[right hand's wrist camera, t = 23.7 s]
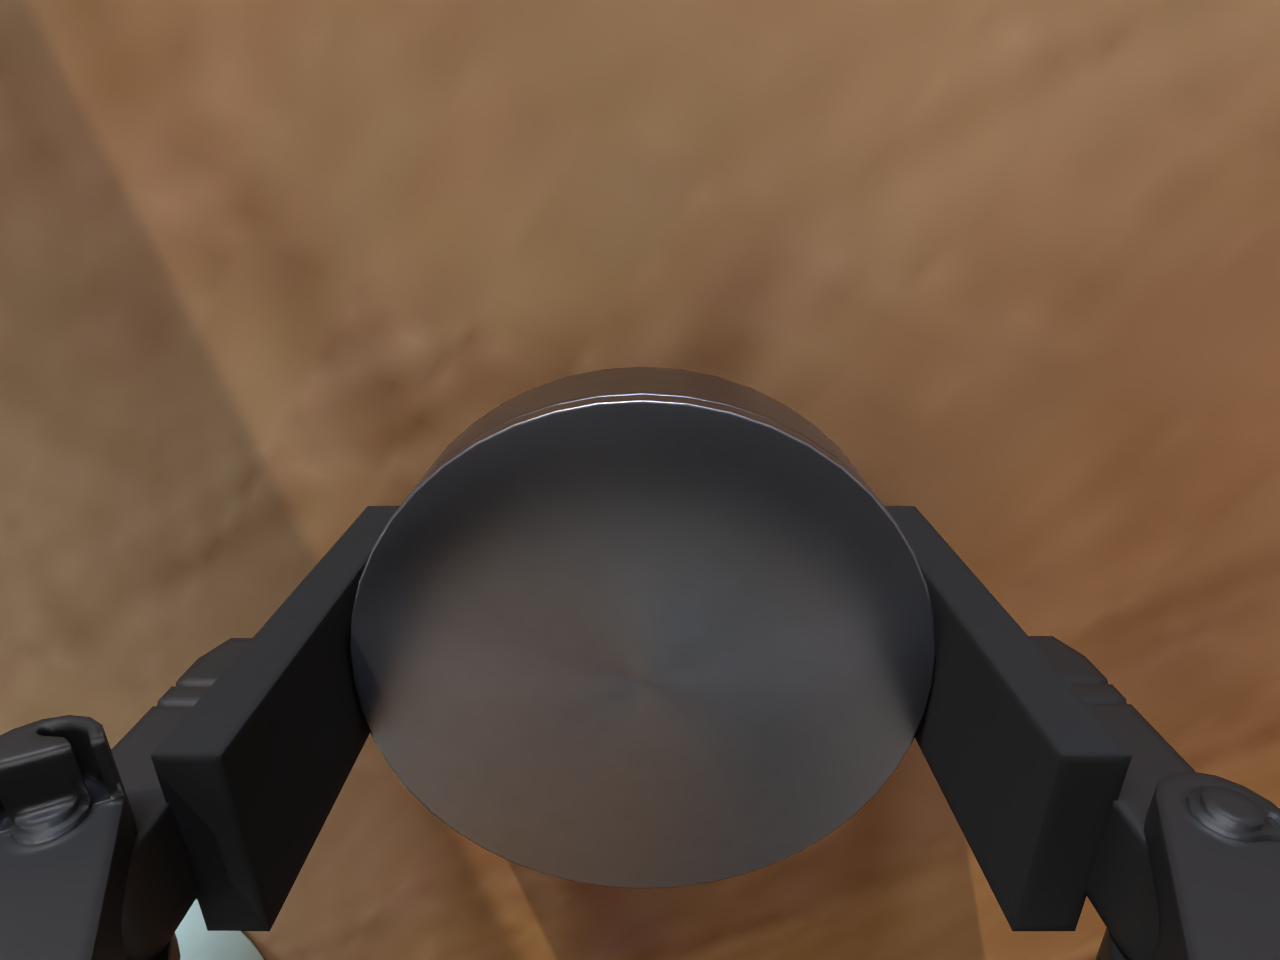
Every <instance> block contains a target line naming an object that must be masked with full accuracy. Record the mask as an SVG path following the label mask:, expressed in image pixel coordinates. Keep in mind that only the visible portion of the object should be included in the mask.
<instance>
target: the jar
mask: <svg viewBox="0 0 1280 960" xmlns="http://www.w3.org/2000/svg"><path fill="white" fill-rule="evenodd" d="M175 934H176V937H177V940H178V945H179V950H180V955H181V957H180V960H264V959H263V957H262V955H261V954H260V952H259V951H258V950H257V948H256V947H255V946H254V944H253V943H252V942H251V941H250V940H249V939H248V938H247V937H246V936H245V934H244V933H243V932H242V931H208V930H207V927H206V924H205V921H204V918H203V915H202V912H201V909H200V906H199V903H198V900H197V899H195V901H194V903H193V904H192V906H191V907H190V909H189V910H188V912H187V914H186V915H185V917H184V918H183V920H182V922H181V923H180V925H179V926H178V928H177V929H176V931H175Z"/></svg>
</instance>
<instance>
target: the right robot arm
mask: <svg viewBox="0 0 1280 960" xmlns="http://www.w3.org/2000/svg"><path fill="white" fill-rule="evenodd" d="M399 507H400V506H368V507H367V508H366V509H365V510H364V511H363V513H362V514H361V515H360V516H359V517H358V518H357V519H356V521H355V522H354V523H353V524H352V525H351V526H350V527H349V529H348V530H347V531H346V532H345V533H344V534H343V535H342V537H341V538H340V539H339V540H338V541H337V542H336V543H335V545H334V546H333V547H332V548H331V549H330V550H329V551H328V553H327V554H326V555H325V556H324V557H323V558H322V560H321V561H320V562H319V563H318V564H317V565H316V566H315V568H314V569H313V570H312V571H311V572H310V573H309V574H308V576H307V577H306V578H305V579H304V580H303V581H302V582H301V584H300V585H299V586H298V587H297V588H296V589H295V590H294V592H293V593H292V594H291V595H290V596H289V597H288V598H287V600H286V601H285V602H284V603H283V604H282V605H281V606H280V608H279V609H278V610H277V611H276V612H275V613H274V614H273V616H272V617H271V618H270V619H269V620H268V621H267V622H266V624H265V625H264V626H263V627H262V628H261V629H260V631H259V632H258V633H257V634H256V635H255V636H254V637H253V638H231V639H229V640H227V641H226V642H224V643H223V644H221V645H219V646H218V647H216V648H215V649H213V650H211V651H210V652H208V653H206V654H205V655H203V656H202V657H200V658H198V660H197V661H196V662H195V663H194V664H193V665H192V666H191V667H190V668H189V669H188V670H187V671H186V672H185V673H184V674H183V675H182V676H181V677H180V678H179V679H178V681H177V682H176V686H175V687H171V688H170V689H169V690H168V691H167V692H166V693H165V694H164V695H163V696H162V697H161V698H160V699H159V700H158V704H157V706H156V707H154V706H153V707H152V708H151V709H150V710H149V711H148V712H147V713H146V714H145V715H144V716H143V717H142V718H141V719H140V720H139V722H138V723H137V724H136V725H135V726H134V727H133V728H132V729H131V730H130V731H129V732H128V733H127V734H126V735H125V736H124V737H123V738H122V739H121V740H120V741H119V743H118V744H117V745H116V746H115V747H114V748H113V749H112V750H111V749H110V746H109V743H108V740H107V738H106V735H105V732H104V729H103V726H102V725H101V724H100V723H98V722H97V721H95V720H94V719H92V718H90V717H83V716H72V715H68V716H61V717H55V718H49V719H42V720H39V721H36V722H33V723H30V724H27V725H24V726H21V727H18V728H15V729H13V730H11V731H9V732H7V733H5V734H3V735H1V736H0V960H180V957H181V955H180V950H179V945H178V940H177V937H176V934H175V931H176V929H177V928H178V926H179V925H180V923H181V922H182V920H183V918H184V917H185V915H186V914H187V912H188V910H189V909H190V907H191V906H192V904H193V903H194V901H195V899H196V898H197V900H198V903H199V906H200V909H201V912H202V915H203V918H204V921H205V924H206V927H207V930H208V931H270V929H271V927H272V925H273V923H274V921H275V919H276V917H277V915H278V913H279V912H280V910H281V908H282V906H283V904H284V902H285V900H286V898H287V896H288V894H289V892H290V890H291V888H292V886H293V884H294V882H295V880H296V878H297V876H298V874H299V872H300V870H301V868H302V866H303V864H304V862H305V860H306V858H307V856H308V854H309V852H310V850H311V848H312V846H313V844H314V842H315V840H316V838H317V836H318V834H319V832H320V830H321V828H322V826H323V824H324V822H325V820H326V818H327V816H328V815H329V813H330V811H331V809H332V807H333V805H334V803H335V801H336V799H337V797H338V795H339V793H340V791H341V789H342V787H343V785H344V783H345V781H346V779H347V777H348V775H349V773H350V771H351V769H352V767H353V765H354V763H355V761H356V759H357V757H358V755H359V753H360V751H361V749H362V747H363V745H364V743H365V741H366V739H367V737H368V735H369V733H370V730H369V727H368V725H367V722H366V720H365V718H364V715H363V713H362V711H361V707H360V704H359V700H358V696H357V692H356V688H355V684H354V680H353V672H352V662H351V652H350V637H351V620H352V611H353V606H354V602H355V597H356V593H357V588H358V584H359V580H360V578H361V575H362V573H363V570H364V568H365V565H366V563H367V560H368V558H369V555H370V553H371V550H372V548H373V547H374V545H375V543H376V542H377V540H378V538H379V536H380V535H381V533H382V531H383V530H384V528H385V526H386V525H387V523H388V521H389V520H390V518H391V517H392V516H393V514H394V513H395V512H396V511H397V509H398V508H399ZM885 508H886V509H887V511H888V512H889V513H890V514H891V516H892V517H893V518H894V520H895V521H896V523H897V524H898V526H899V528H900V529H901V531H902V533H903V535H904V536H905V538H906V540H907V541H908V543H909V545H910V546H911V548H912V550H913V551H914V553H915V556H916V558H917V561H918V563H919V566H920V569H921V571H922V574H923V576H924V579H925V581H926V584H927V587H928V592H929V596H930V601H931V606H932V610H933V615H934V624H935V643H936V655H935V664H934V674H933V683H932V687H931V691H930V695H929V698H928V702H927V706H926V710H925V713H924V716H923V718H922V721H921V723H920V725H919V728H918V730H917V732H916V734H915V738H916V740H917V742H918V744H919V746H920V748H921V750H922V752H923V754H924V756H925V758H926V760H927V762H928V764H929V766H930V768H931V770H932V772H933V774H934V776H935V778H936V780H937V782H938V784H939V786H940V788H941V790H942V792H943V794H944V796H945V798H946V800H947V802H948V804H949V806H950V808H951V810H952V812H953V814H954V816H955V818H956V820H957V822H958V824H959V826H960V828H961V830H962V832H963V834H964V836H965V838H966V839H967V841H968V843H969V845H970V847H971V849H972V851H973V853H974V855H975V857H976V859H977V861H978V863H979V865H980V867H981V869H982V871H983V873H984V875H985V877H986V879H987V881H988V883H989V885H990V887H991V889H992V891H993V893H994V895H995V897H996V899H997V901H998V903H999V905H1000V907H1001V909H1002V911H1003V913H1004V915H1005V917H1006V919H1007V921H1008V923H1009V925H1010V927H1011V929H1012V931H1075V929H1076V926H1077V923H1078V920H1079V917H1080V914H1081V911H1082V908H1083V905H1084V902H1085V899H1086V896H1087V897H1088V898H1089V900H1090V901H1091V903H1092V905H1093V906H1094V908H1095V909H1096V911H1097V912H1098V914H1099V916H1100V917H1101V919H1102V920H1103V922H1104V923H1105V925H1106V927H1107V928H1106V931H1105V934H1104V937H1103V940H1102V943H1101V946H1100V948H1099V951H1098V954H1097V957H1096V960H1280V809H1279V808H1278V807H1276V806H1275V805H1274V804H1273V803H1272V802H1270V801H1269V800H1267V799H1265V798H1263V797H1262V796H1260V795H1258V794H1256V793H1255V792H1253V791H1251V790H1249V789H1248V788H1246V787H1244V786H1242V785H1239V784H1236V783H1234V782H1231V781H1228V780H1226V779H1223V778H1220V777H1218V776H1214V775H1209V774H1203V773H1197V772H1195V771H1194V770H1193V769H1192V768H1191V767H1190V766H1189V765H1188V763H1187V762H1186V761H1185V760H1184V759H1183V758H1182V757H1181V756H1180V755H1179V754H1178V753H1177V752H1176V751H1175V750H1174V749H1173V748H1172V747H1171V746H1170V745H1169V744H1168V743H1167V742H1166V740H1165V739H1164V738H1163V737H1162V736H1161V735H1160V734H1159V733H1158V732H1157V731H1156V730H1155V729H1154V728H1153V727H1152V726H1151V725H1150V724H1149V723H1148V722H1147V721H1146V720H1145V719H1144V718H1143V716H1142V715H1141V714H1140V713H1139V712H1138V711H1137V710H1136V709H1135V708H1134V707H1133V706H1132V705H1131V704H1127V703H1126V699H1125V698H1124V697H1123V696H1122V695H1121V693H1120V692H1119V691H1118V690H1117V689H1116V688H1115V687H1114V686H1113V685H1108V683H1107V679H1106V678H1105V677H1104V676H1103V675H1102V674H1101V673H1100V672H1099V671H1098V669H1097V668H1096V667H1095V666H1094V665H1093V664H1092V663H1091V662H1090V661H1089V660H1088V659H1087V658H1086V657H1085V656H1084V655H1082V654H1080V653H1079V652H1077V651H1075V650H1074V649H1072V648H1071V647H1069V646H1067V645H1066V644H1064V643H1062V642H1061V641H1059V640H1058V639H1056V638H1054V637H1053V636H1028V635H1027V634H1026V633H1025V632H1024V631H1023V630H1022V629H1021V627H1020V626H1019V625H1018V624H1017V623H1016V622H1015V621H1014V619H1013V618H1012V617H1011V616H1010V615H1009V614H1008V613H1007V611H1006V610H1005V609H1004V608H1003V607H1002V606H1001V605H1000V603H999V602H998V601H997V600H996V599H995V598H994V597H993V595H992V594H991V593H990V592H989V591H988V590H987V589H986V587H985V586H984V585H983V584H982V583H981V582H980V581H979V579H978V578H977V577H976V576H975V575H974V574H973V573H972V571H971V570H970V569H969V568H968V567H967V566H966V564H965V563H964V562H963V561H962V560H961V559H960V558H959V556H958V555H957V554H956V553H955V552H954V551H953V550H952V548H951V547H950V546H949V545H948V544H947V543H946V542H945V540H944V539H943V538H942V537H941V536H940V535H939V534H938V532H937V531H936V530H935V529H934V528H933V527H932V526H931V524H930V523H929V522H928V521H927V520H926V519H925V518H924V516H923V515H922V514H921V513H920V512H919V511H918V510H917V508H916V507H915V506H885Z"/></svg>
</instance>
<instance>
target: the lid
mask: <svg viewBox="0 0 1280 960" xmlns="http://www.w3.org/2000/svg"><path fill="white" fill-rule="evenodd" d="M350 652H351V662H352V672H353V680H354V684H355V688H356V692H357V696H358V700H359V704H360V707H361V711H362V713H363V715H364V718H365V720H366V722H367V725H368V727H369V730H370V732H371V734H372V737H373V739H374V741H375V742H376V744H377V746H378V747H379V749H380V751H381V752H382V754H383V756H384V757H385V759H386V761H387V762H388V764H389V766H390V767H391V768H392V769H393V771H394V772H395V773H396V774H397V776H398V777H399V778H400V779H401V781H402V782H403V783H404V784H405V786H406V787H407V788H408V790H409V791H410V792H411V793H412V794H413V795H414V796H415V797H416V798H417V799H419V800H420V801H421V802H422V803H423V804H424V805H425V806H426V807H427V808H428V809H429V810H430V811H431V812H432V813H433V814H434V815H436V816H437V817H438V818H440V819H441V820H442V821H443V822H445V823H446V824H447V825H449V826H450V827H451V828H452V829H454V830H455V831H456V832H458V833H459V834H461V835H463V836H464V837H466V838H468V839H469V840H471V841H472V842H474V843H476V844H477V845H479V846H481V847H482V848H484V849H486V850H488V851H490V852H492V853H494V854H496V855H498V856H501V857H503V858H505V859H507V860H509V861H511V862H513V863H516V864H519V865H521V866H524V867H527V868H530V869H533V870H535V871H538V872H541V873H544V874H548V875H551V876H555V877H559V878H563V879H567V880H571V881H575V882H582V883H588V884H595V885H601V886H608V887H624V888H668V887H680V886H688V885H695V884H703V883H709V882H713V881H718V880H722V879H726V878H731V877H735V876H739V875H742V874H745V873H748V872H751V871H754V870H757V869H760V868H763V867H766V866H769V865H771V864H773V863H776V862H778V861H780V860H782V859H784V858H787V857H789V856H791V855H793V854H795V853H798V852H800V851H801V850H803V849H805V848H806V847H808V846H810V845H812V844H813V843H815V842H817V841H818V840H820V839H822V838H823V837H825V836H827V835H828V834H830V833H831V832H832V831H834V830H835V829H836V828H838V827H839V826H840V825H842V824H843V823H844V822H846V821H847V820H848V819H850V818H851V817H852V816H853V815H854V814H855V813H856V812H857V811H858V810H860V809H861V808H862V807H863V806H864V805H865V804H866V803H867V802H868V801H869V800H870V799H871V798H872V797H873V796H874V795H875V794H876V793H877V792H878V791H879V789H880V788H881V787H882V786H883V784H884V783H885V782H886V781H887V780H888V778H889V777H890V776H891V775H892V773H893V772H894V771H895V770H896V768H897V766H898V765H899V763H900V761H901V760H902V758H903V757H904V755H905V753H906V752H907V750H908V748H909V747H910V745H911V744H912V741H913V739H914V737H915V734H916V732H917V730H918V728H919V725H920V723H921V721H922V718H923V716H924V713H925V710H926V706H927V702H928V698H929V695H930V691H931V687H932V683H933V674H934V664H935V655H936V643H935V624H934V615H933V610H932V606H931V601H930V596H929V592H928V587H927V584H926V581H925V579H924V576H923V574H922V571H921V569H920V566H919V563H918V561H917V558H916V556H915V553H914V551H913V550H912V548H911V546H910V545H909V543H908V541H907V540H906V538H905V536H904V535H903V533H902V531H901V529H900V528H899V526H898V524H897V523H896V521H895V520H894V518H893V517H892V516H891V514H890V513H889V512H888V511H887V509H886V508H885V506H884V505H883V504H882V502H881V501H880V500H879V498H878V497H877V496H876V494H875V493H874V492H873V490H872V489H871V488H870V486H869V485H868V484H867V482H866V481H865V480H864V478H863V477H862V476H861V474H860V473H859V472H858V471H857V469H856V468H855V467H854V466H853V464H852V463H851V462H850V461H849V460H848V458H847V457H846V456H845V455H844V453H843V452H842V451H841V450H840V449H839V447H838V446H836V445H835V444H834V443H833V442H832V441H831V440H830V439H829V438H828V437H827V436H826V435H824V434H823V433H822V432H821V431H820V430H819V429H818V428H817V427H816V426H815V425H814V424H812V423H811V422H809V421H808V420H806V419H805V418H803V417H802V416H800V415H799V414H797V413H796V412H794V411H793V410H792V409H790V408H789V407H787V406H786V405H784V404H782V403H780V402H778V401H776V400H774V399H772V398H770V397H768V396H766V395H764V394H762V393H760V392H758V391H756V390H754V389H752V388H749V387H746V386H743V385H740V384H737V383H734V382H731V381H728V380H726V379H723V378H720V377H716V376H711V375H706V374H701V373H696V372H691V371H686V370H681V369H667V368H653V367H633V368H617V369H604V370H599V371H594V372H588V373H583V374H578V375H573V376H568V377H565V378H562V379H559V380H556V381H553V382H550V383H547V384H544V385H541V386H538V387H535V388H533V389H531V390H529V391H527V392H525V393H523V394H521V395H519V396H517V397H515V398H513V399H511V400H509V401H507V402H505V403H503V404H501V405H500V406H498V407H497V408H495V409H494V410H492V411H491V412H489V413H488V414H486V415H485V416H483V417H482V418H480V419H479V420H477V421H476V422H474V423H473V424H472V425H471V426H470V427H469V428H468V429H466V430H465V431H464V432H463V433H462V434H461V435H460V436H459V437H458V438H456V439H455V440H454V441H453V442H452V443H451V444H450V445H449V446H448V447H447V448H446V449H445V451H444V452H443V453H442V454H441V455H440V457H439V458H438V459H437V460H436V462H435V463H434V464H433V465H432V466H431V468H430V469H429V470H428V471H427V473H426V474H425V475H424V476H423V478H422V479H421V480H420V481H419V483H418V484H417V485H416V486H415V488H414V489H413V490H412V492H411V493H410V494H409V495H408V497H407V498H406V499H405V500H404V502H403V503H402V504H401V506H400V507H399V508H398V509H397V511H396V512H395V513H394V514H393V516H392V517H391V518H390V520H389V521H388V523H387V525H386V526H385V528H384V530H383V531H382V533H381V535H380V536H379V538H378V540H377V542H376V543H375V545H374V547H373V548H372V550H371V553H370V555H369V558H368V560H367V563H366V565H365V568H364V570H363V573H362V575H361V578H360V580H359V584H358V588H357V593H356V597H355V602H354V606H353V611H352V620H351V637H350Z"/></svg>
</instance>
